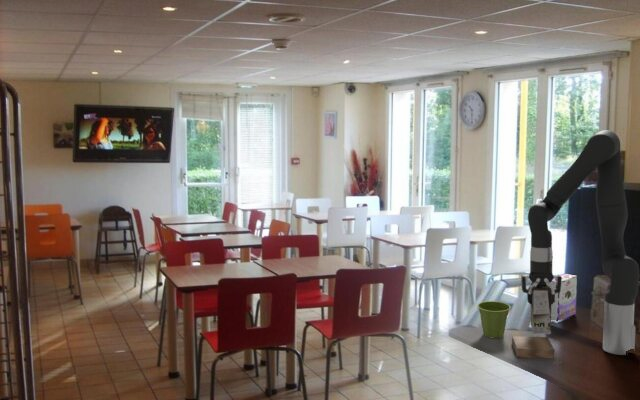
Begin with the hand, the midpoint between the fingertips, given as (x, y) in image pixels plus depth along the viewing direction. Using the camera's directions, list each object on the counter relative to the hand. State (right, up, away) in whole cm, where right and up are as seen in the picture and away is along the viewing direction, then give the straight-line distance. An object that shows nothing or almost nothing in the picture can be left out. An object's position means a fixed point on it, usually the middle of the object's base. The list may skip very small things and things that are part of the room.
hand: (540, 303), depth 238 cm
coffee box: (+1, -10, +2) cm, 10 cm away
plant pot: (-16, -13, +5) cm, 21 cm away
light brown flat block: (-6, -15, -11) cm, 19 cm away
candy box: (+15, -9, +23) cm, 29 cm away
